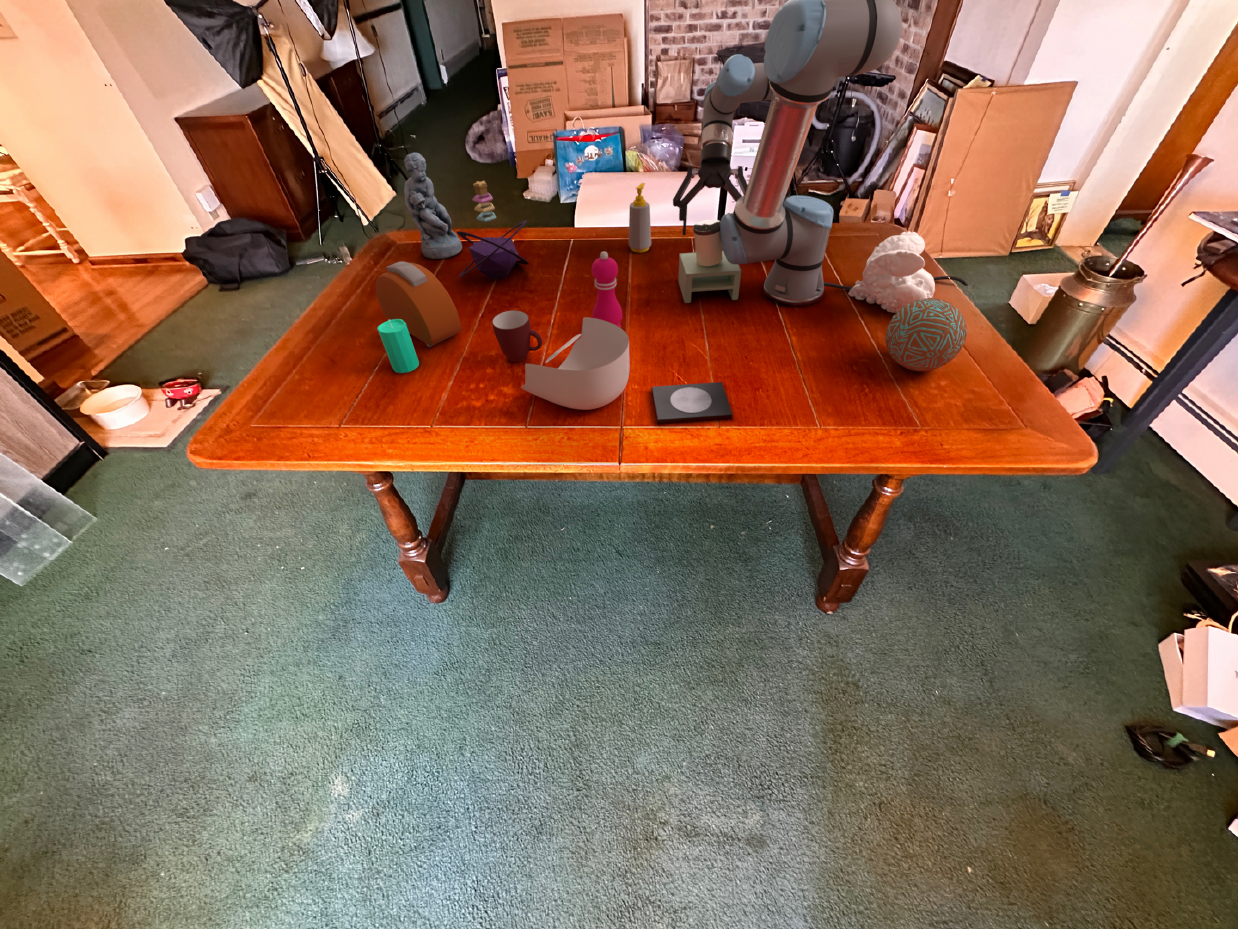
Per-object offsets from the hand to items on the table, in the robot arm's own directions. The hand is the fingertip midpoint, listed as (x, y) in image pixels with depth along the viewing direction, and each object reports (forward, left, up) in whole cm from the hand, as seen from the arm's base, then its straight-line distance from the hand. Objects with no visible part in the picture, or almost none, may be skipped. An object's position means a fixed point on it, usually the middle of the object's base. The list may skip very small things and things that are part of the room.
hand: (711, 233), depth 141 cm
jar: (0, +2, -6) cm, 6 cm away
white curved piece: (+34, +43, -15) cm, 56 cm away
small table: (0, +2, -14) cm, 15 cm away
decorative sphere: (-38, +41, -15) cm, 58 cm away
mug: (+48, +29, -15) cm, 58 cm away
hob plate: (+12, +50, -14) cm, 53 cm away
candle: (+75, +29, -15) cm, 82 cm away
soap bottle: (+16, -27, -15) cm, 34 cm away
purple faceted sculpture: (+58, -15, -15) cm, 62 cm away
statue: (+78, -34, -15) cm, 87 cm away
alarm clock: (+74, +13, -15) cm, 77 cm away
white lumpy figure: (-44, +14, -15) cm, 48 cm away
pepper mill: (+28, +19, -15) cm, 37 cm away
